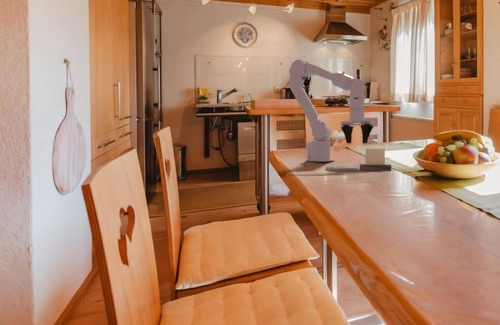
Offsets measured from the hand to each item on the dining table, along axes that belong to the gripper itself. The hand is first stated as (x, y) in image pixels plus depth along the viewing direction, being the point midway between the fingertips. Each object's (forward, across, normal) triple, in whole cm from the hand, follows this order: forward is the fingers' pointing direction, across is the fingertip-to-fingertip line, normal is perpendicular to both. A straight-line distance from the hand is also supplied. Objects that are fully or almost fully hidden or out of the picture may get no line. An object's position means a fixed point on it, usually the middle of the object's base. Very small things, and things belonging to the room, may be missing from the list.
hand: (356, 143), depth 134 cm
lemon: (+10, +24, +6) cm, 27 cm away
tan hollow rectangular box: (+10, +12, -5) cm, 16 cm away
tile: (+10, +3, -14) cm, 18 cm away
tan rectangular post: (+10, +12, -5) cm, 16 cm away
